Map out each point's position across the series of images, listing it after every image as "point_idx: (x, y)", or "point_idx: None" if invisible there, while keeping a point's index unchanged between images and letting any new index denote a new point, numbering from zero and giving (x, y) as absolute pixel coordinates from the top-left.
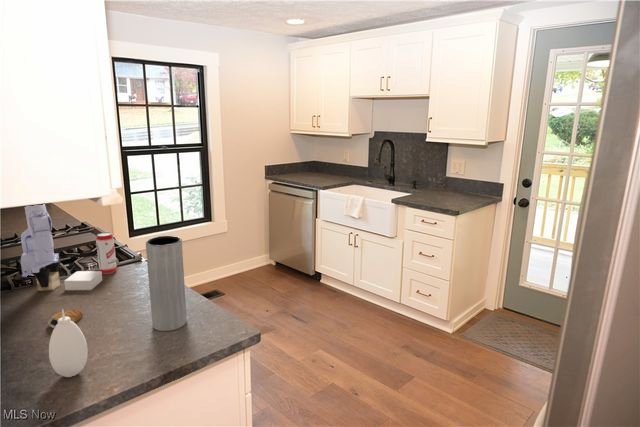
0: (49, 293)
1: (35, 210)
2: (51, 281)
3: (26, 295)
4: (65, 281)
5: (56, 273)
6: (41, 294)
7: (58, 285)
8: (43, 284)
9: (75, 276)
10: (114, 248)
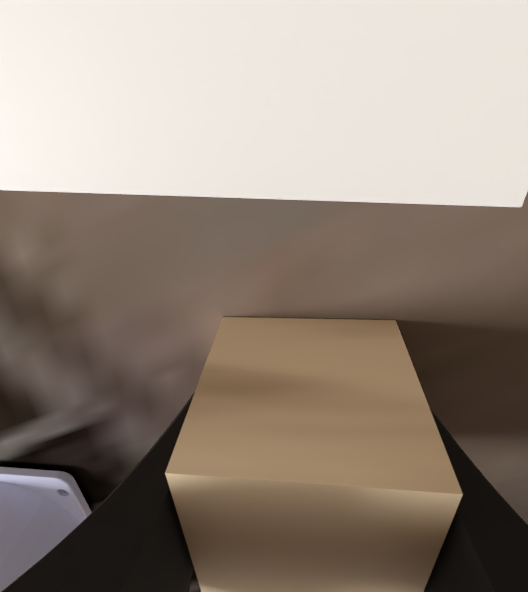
0: (500, 319)
1: None
2: (429, 419)
3: None
4: (521, 171)
5: (242, 476)
6: (501, 382)
7: (260, 319)
8: None
9: (224, 22)
10: None
